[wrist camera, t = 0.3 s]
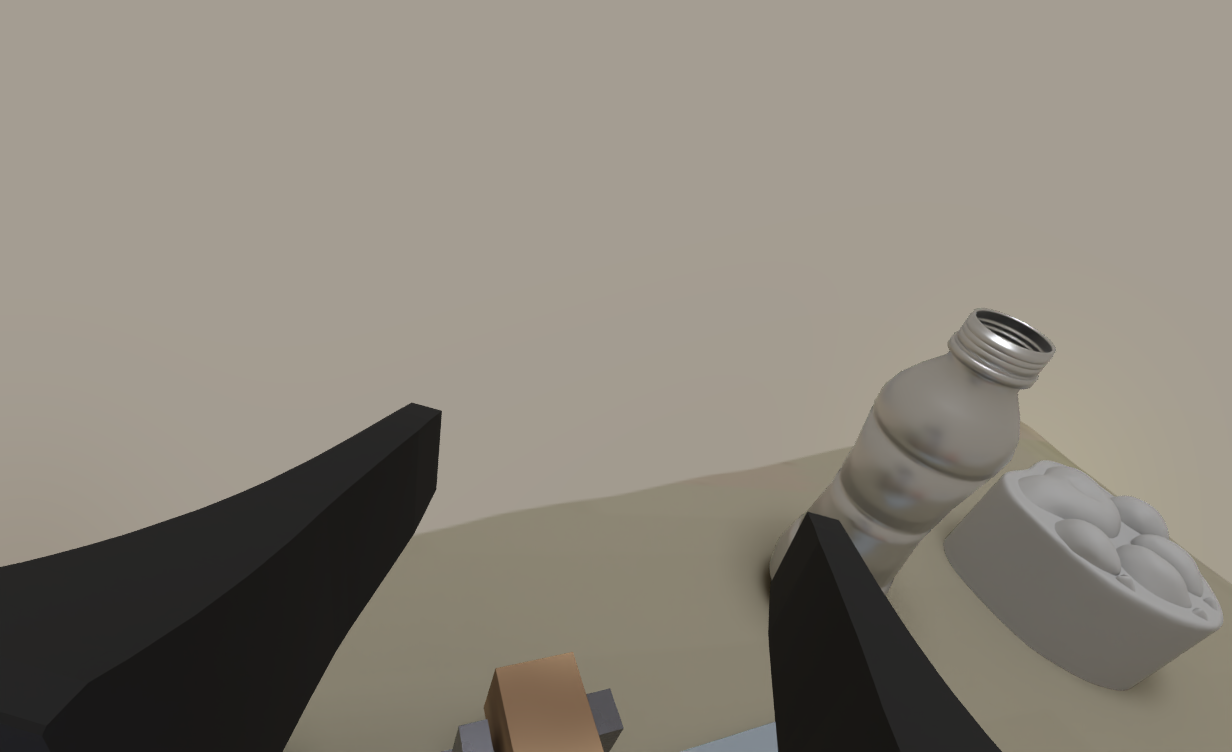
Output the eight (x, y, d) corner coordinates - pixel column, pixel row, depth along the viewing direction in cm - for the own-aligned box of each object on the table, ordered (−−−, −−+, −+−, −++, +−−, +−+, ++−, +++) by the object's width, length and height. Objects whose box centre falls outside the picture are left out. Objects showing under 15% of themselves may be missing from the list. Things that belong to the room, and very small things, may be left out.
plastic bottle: (742, 552, 40) (909, 282, 28) (829, 550, 42) (1016, 299, 30) (784, 649, 35) (1008, 369, 23) (880, 640, 37) (1127, 382, 26)
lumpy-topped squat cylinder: (1000, 514, 50) (1072, 438, 46) (1162, 659, 42) (1273, 585, 37) (925, 545, 45) (999, 462, 40) (1096, 718, 37) (1215, 641, 32)
